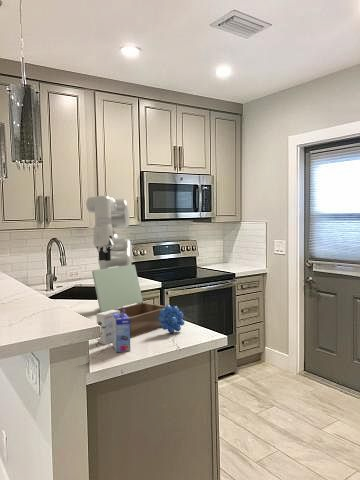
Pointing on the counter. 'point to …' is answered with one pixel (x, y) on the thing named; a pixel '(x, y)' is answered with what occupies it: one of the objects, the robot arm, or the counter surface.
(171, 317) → the grapes
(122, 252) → the robot arm
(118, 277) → the lid
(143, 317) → the storage box
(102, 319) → the ink box
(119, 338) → the ink cartridge box
